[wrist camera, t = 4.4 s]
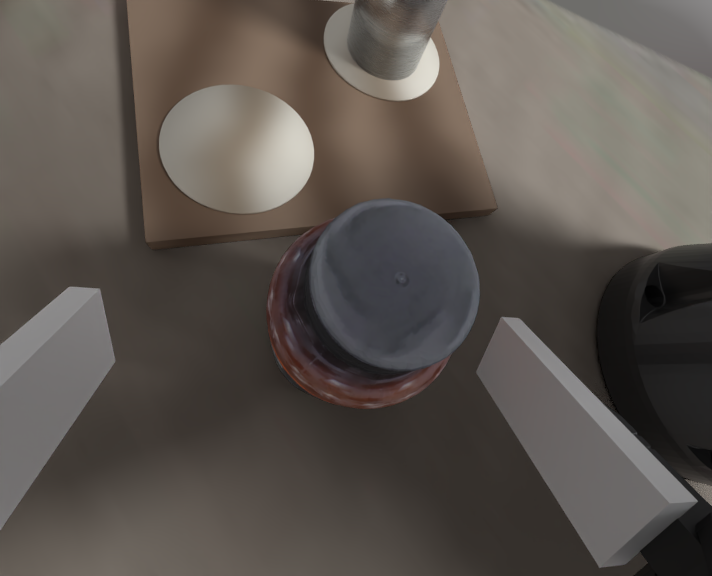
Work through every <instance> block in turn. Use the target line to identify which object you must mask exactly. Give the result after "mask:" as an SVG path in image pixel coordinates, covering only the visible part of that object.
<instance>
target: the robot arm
mask: <svg viewBox="0 0 712 576" xmlns="http://www.w3.org/2000/svg"><path fill="white" fill-rule="evenodd" d="M597 340H598V351H599V358H600V363H601V367H602V371H603V375H604V378H605V381H606V385H607V387H608V390H609V392H610V395H611V397H612V399H613V402H614V404H615V406H616V408H617V410H618V412H619V413H620V415H621V416H620V415H619V414H618V413H616V412H615V411H613V410H612V409H611V408H609V407H608V406H606V405H605V404H604V403H602V402H601V401H600V400H599V399H598V398H597V397H596V396H595V395H594V394H593V393H592V392H591V391H590V390H589V389H588V388H587V387H586V386H585V385H584V384H583V383H582V382H581V381H580V380H579V379H578V378H577V377H576V376H575V375H574V374H573V373H572V372H571V371H570V370H569V369H568V368H567V366H566V365H565V364H564V363H563V362H562V361H561V360H560V359H559V358H558V357H557V356H556V355H555V354H554V353H553V352H552V351H551V350H550V349H549V348H548V347H547V346H546V345H545V344H544V343H543V342H542V341H541V340H540V339H539V338H538V337H537V336H536V335H535V334H534V333H533V332H532V331H531V330H530V329H529V328H528V327H527V326H526V325H525V323H524V322H523V321H522V320H521V319H520V318H511V317H501V318H500V321H499V323H498V325H497V327H496V329H495V332H494V334H493V336H492V338H491V340H490V342H489V345H488V347H487V349H486V351H485V353H484V356H483V358H482V360H481V362H480V364H479V366H478V369H477V371H476V373H477V375H478V376H479V378H480V380H481V381H482V383H483V384H484V386H485V387H486V389H487V391H488V392H489V394H490V395H491V397H492V399H493V400H494V402H495V403H496V405H497V406H498V408H499V410H500V411H501V413H502V414H503V416H504V417H505V419H506V421H507V422H508V424H509V425H510V427H511V429H512V430H513V432H514V433H515V435H516V436H517V438H518V440H519V441H520V443H521V444H522V446H523V448H524V449H525V451H526V452H527V454H528V455H529V457H530V459H531V460H532V462H533V463H534V465H535V466H536V468H537V470H538V471H539V473H540V474H541V476H542V478H543V479H544V481H545V482H546V484H547V485H548V487H549V489H550V490H551V492H552V493H553V495H554V497H555V498H556V500H557V501H558V503H559V504H560V506H561V508H562V509H563V511H564V512H565V514H566V515H567V517H568V519H569V520H570V522H571V523H572V525H573V527H574V528H575V530H576V531H577V533H578V534H579V536H580V538H581V539H582V541H583V542H584V544H585V546H586V547H587V549H588V550H589V552H590V553H591V555H592V557H593V558H594V560H595V561H596V563H597V564H598V566H599V568H601V567H610V566H619V565H625V564H627V563H628V562H629V561H630V560H631V559H632V558H633V557H635V556H636V555H637V554H638V553H639V552H641V554H642V555H643V556H644V558H645V559H646V560H647V562H648V564H647V565H646V566H645V567H643V568H642V569H641V570H640V571H638V572H637V573H636V574H635V575H634V576H712V506H711V505H710V504H709V503H708V502H706V501H705V500H704V499H703V498H702V497H701V496H700V495H699V494H698V493H697V492H696V491H695V490H694V489H693V488H692V487H691V486H690V485H689V484H688V483H687V482H686V481H685V480H684V479H683V478H682V477H684V478H687V479H689V480H692V481H695V482H699V483H702V484H706V485H710V486H712V243H711V244H694V245H683V246H677V247H673V248H669V249H666V250H663V251H660V252H657V253H654V254H650V255H647V256H644V257H641V258H638V259H636V260H634V261H632V262H630V263H628V264H627V265H625V266H624V267H623V268H622V269H621V270H619V271H618V273H617V274H616V275H615V276H614V277H613V279H612V280H611V282H610V283H609V285H608V287H607V289H606V291H605V293H604V296H603V299H602V302H601V305H600V310H599V316H598V326H597ZM114 363H115V356H114V352H113V347H112V342H111V338H110V333H109V328H108V324H107V319H106V314H105V310H104V305H103V300H102V296H101V291H100V289H98V288H84V287H68V288H67V289H66V290H65V291H63V292H62V293H61V294H60V295H59V296H58V297H56V298H55V299H54V300H53V301H52V302H50V303H49V304H48V305H47V306H46V307H45V308H43V309H42V310H41V311H40V312H39V313H37V314H36V315H35V316H34V317H33V318H32V319H30V320H29V321H28V322H27V323H26V324H24V325H23V326H22V327H21V328H20V329H19V330H17V331H16V332H15V333H14V334H13V335H11V336H10V337H9V338H8V339H7V340H6V341H4V342H3V343H2V344H1V345H0V530H1V529H2V527H3V526H4V524H5V523H6V521H7V520H8V518H9V517H10V515H11V514H12V513H13V511H14V510H15V508H16V507H17V505H18V504H19V502H20V501H21V499H22V498H23V496H24V495H25V493H26V492H27V491H28V489H29V488H30V486H31V485H32V483H33V482H34V480H35V479H36V477H37V476H38V474H39V473H40V471H41V470H42V469H43V467H44V466H45V464H46V463H47V461H48V460H49V458H50V457H51V455H52V454H53V452H54V451H55V449H56V448H57V447H58V445H59V444H60V442H61V441H62V439H63V438H64V436H65V435H66V433H67V432H68V430H69V429H70V427H71V426H72V425H73V423H74V422H75V420H76V419H77V417H78V416H79V414H80V413H81V411H82V410H83V408H84V407H85V405H86V404H87V403H88V401H89V400H90V398H91V397H92V395H93V394H94V392H95V391H96V389H97V388H98V386H99V385H100V383H101V382H102V381H103V379H104V378H105V376H106V375H107V373H108V372H109V370H110V369H111V367H112V366H113V364H114ZM681 476H682V477H681Z"/></svg>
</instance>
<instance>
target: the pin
mask: <svg viewBox="0 0 712 576" xmlns="http://www.w3.org/2000/svg"><path fill="white" fill-rule="evenodd" d="M446 2H447V0H355V3H354V8H353V12H352V17H351V22H350V27H349V32H348V37H347V46H348V50H349V53H350V55H351V57H352V58H353V60H354V61H355V62H356V64H357V65H358V66H359V67H361V68H362V69H363V70H364V71H366V72H367V73H369V74H371V75H373V76H375V77H377V78H380V79H385V80H401V79H404V78H407V77H409V76H410V75H412V74H413V73H414V72H415V70H416V69H417V66H418V64H419V62H420V60H421V58H422V55H423V53H424V51H425V49H426V46H427V44H428V42H429V40H430V38H431V35H432V33H433V31H434V29H435V27H436V24H437V22H438V20H439V18H440V16H441V13H442V11H443V9H444V7H445V5H446Z"/></svg>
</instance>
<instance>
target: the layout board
mask: <svg viewBox="0 0 712 576" xmlns="http://www.w3.org/2000/svg"><path fill="white" fill-rule="evenodd" d="M353 8H354V3H345V2H333V1H321V0H127V13H128V25H129V38H130V51H131V64H132V77H133V89H134V102H135V115H136V128H137V140H138V153H139V166H140V179H141V192H142V204H143V217H144V230H145V242H146V243H147V244H148V246H149V247H150V248H151V249H152V250H156V249H166V248H176V247H185V246H195V245H205V244H215V243H224V242H234V241H244V240H253V239H263V238H273V237H283V236H292V235H302V234H304V233H305V232H307V231H308V230H310V229H311V228H313V227H315V226H317V225H319V224H321V223H323V222H325V221H327V220H330V219H333V218H336V217H337V216H338V215H340V214H341V213H343V212H344V211H345V210H346V209H349V208H351V207H352V206H354V205H356V204H358V203H361V202H365V201H369V200H373V199H385V198H390V199H397V200H404V201H409V202H413V203H416V204H419V205H421V206H423V207H425V208H427V209H429V210H431V211H432V212H434V213H436V214H438V215H439V216H440V217H442V218H443V219H444V220H448V219H458V218H467V217H477V216H487V215H490V214H491V213H492V212H494V211H495V210H496V209H497V208H498V207H497V204H496V201H495V198H494V194H493V191H492V188H491V185H490V182H489V179H488V176H487V172H486V169H485V166H484V163H483V160H482V157H481V154H480V150H479V147H478V144H477V141H476V138H475V135H474V132H473V128H472V125H471V122H470V119H469V116H468V113H467V109H466V106H465V103H464V100H463V97H462V94H461V91H460V87H459V84H458V81H457V78H456V75H455V72H454V69H453V65H452V62H451V59H450V56H449V53H448V50H447V47H446V43H445V40H444V37H443V34H442V31H441V28H440V24H439V21H438V22H437V24H436V27H435V29H434V31H433V33H432V35H431V38H430V40H429V42H428V44H427V46H426V49H425V51H424V53H423V55H422V58H421V60H420V62H419V64H418V66H417V69H416V70H415V72H414V73H413V74H412V75H410V76H409V77H407V78H404V79H401V80H385V79H380V78H377V77H375V76H373V75H371V74H369V73H367V72H366V71H364V70H363V69H362V68H361V67H359V66H358V65H357V64H356V62H355V61H354V60H353V58H352V57H351V55H350V53H349V50H348V46H347V37H348V32H349V27H350V22H351V17H352V12H353Z"/></svg>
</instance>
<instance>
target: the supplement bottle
mask: <svg viewBox="0 0 712 576" xmlns="http://www.w3.org/2000/svg"><path fill="white" fill-rule="evenodd" d="M479 299H480V290H479V276H478V271H477V268H476V265H475V262H474V260H473V257H472V254H471V252H470V250H469V249H468V247H467V245H466V243H465V242H464V241H463V239H462V238H461V236H460V235H459V234H458V232H457V231H456V230H455V229H454V228H453V227H452V226H451V225H450V224H449V223H448V222H447V221H445V220H444V219H443V218H442V217H440V216H439V215H438V214H436V213H434V212H432V211H431V210H429V209H427V208H425V207H423V206H421V205H419V204H416V203H413V202H409V201H404V200H397V199H390V198H385V199H373V200H369V201H365V202H361V203H358V204H356V205H354V206H352V207H351V208H349V209H346V210H345V211H344V212H343V213H341V214H340V215H338V216H337V217H336V218H333V219H330V220H327V221H325V222H323V223H321V224H319V225H317V226H315V227H313V228H311V229H310V230H308V231H307V232H305V233H304V234H302V235H301V236H300V237H299V238H298V239H297V240H296V241H295V242H294V243H293V244H292V245H291V246H290V247H289V248H288V250H287V251H286V252H285V253H284V255H283V256H282V258H281V260H280V262H279V263H278V265H277V267H276V270H275V272H274V274H273V277H272V280H271V283H270V286H269V292H268V297H267V307H266V313H267V324H268V334H269V338H270V342H271V346H272V351H273V355H274V358H275V361H276V363H277V365H278V367H279V369H280V371H281V372H282V373H283V375H284V376H285V377H286V378H287V380H288V381H289V382H291V383H292V384H293V385H294V386H296V387H297V388H298V389H300V390H301V391H303V392H305V393H308V394H310V395H312V396H314V397H317V398H318V399H321V400H324V401H326V402H329V403H332V404H335V405H341V406H345V407H351V408H358V409H376V408H382V407H388V406H392V405H395V404H398V403H401V402H403V401H405V400H407V399H409V398H411V397H413V396H415V395H417V394H419V393H420V392H421V391H422V390H424V389H425V388H426V387H427V386H428V385H430V384H431V383H432V382H433V381H434V380H435V379H436V378H437V377H438V376H439V374H440V373H441V371H442V370H443V368H444V367H445V365H446V364H447V362H448V360H449V358H450V356H451V354H452V353H453V352H454V351H455V350H456V349H457V348H458V347H459V346H460V345H461V343H462V342H463V341H464V340H465V338H466V337H467V335H468V334H469V332H470V331H471V328H472V325H473V324H474V322H475V318H476V315H477V312H478V305H479Z"/></svg>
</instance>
